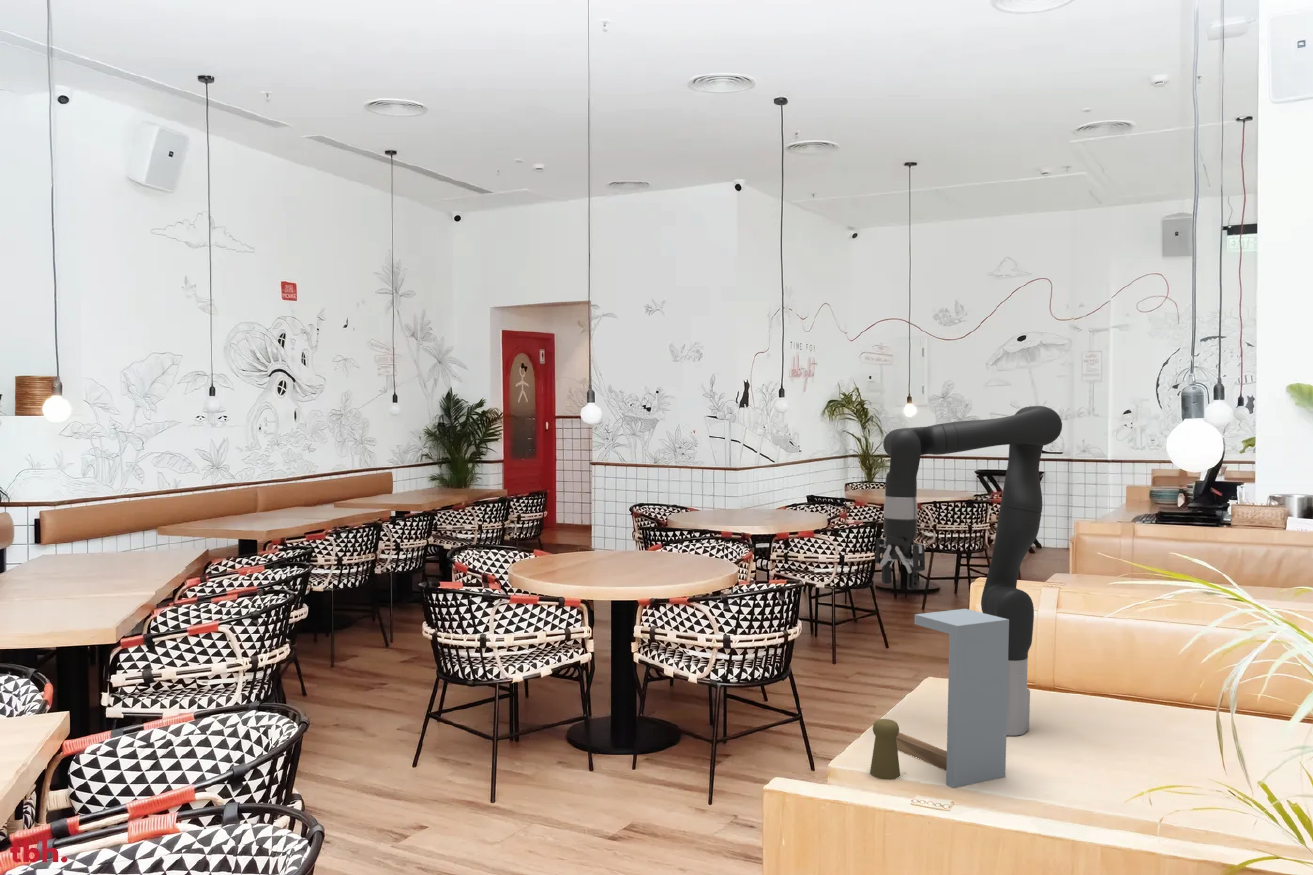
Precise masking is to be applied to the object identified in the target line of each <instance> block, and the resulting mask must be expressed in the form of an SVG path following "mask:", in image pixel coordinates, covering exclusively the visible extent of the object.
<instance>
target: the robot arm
mask: <svg viewBox="0 0 1313 875" xmlns="http://www.w3.org/2000/svg"><path fill="white" fill-rule="evenodd" d="M1062 421H1063V420H1062V418H1061V416H1060V415H1059V414H1058V413H1057V412H1056V411H1055V410H1053V409H1052V408H1050V407H1047V406H1044V405H1043V406H1042V405H1033V406H1032V405H1031V406H1025V407H1022V408H1020V409H1019V410H1017V411H1016V412H1015V414H1013V415H1008V416H1004V417H1003V416H1002V417H997V418H989V419H988V418H987V419H974V420H973V419H972V420H961V421H959V420H958V421H951V422H950V421H949V422H945V423H937V424H933V425H928V426H919V427H918V426H917V427H903V428H896V429H893V430H890V431H889V432H888V433H887V434H886V435H885V436H884V439H883V450H884V452H885V453H886V454H887V456H888V457H889V458H890V461H889V471H888V472H887V473H886V476H885V491H884V493H885V494H884V495H885V496H884V503H883V529H882V530H883V531H882V532H883V536H885V537H877V538H876V541H875V555H874V556H875V557H874V559H875V561H874V562H875V563H876V564H879V566H880V568H881V581H882V584H885V585H887V584H891V583H892V580H893V579H892V575H893V574H892V572H893V568H892V565H893V563H894V562H895V561H896V560H897V561H899V562H901V564H902V565H904V567H905V568H906V571H907V575H906V576H907V578H906V582H907V583H906V589H907V590H916V589H917V588H918V581H919V580H918V574H919V573H921V572H924V571H925V570H926V554H925V553H926V552H925V551H926V550H925V549H926V547H925V545H924V544H922V543H921V544H915V540H914V539H915V538H916V537H917V536H918V501H917V499H918V498H917V492H918V490H917V489H918V485H917V484H918V483H917V482H918V481H917V479H918V472H919V468H920V461H921V457H922V456H925V455H933V456H934V455H936V456H939V455H946V454H947V455H948V454H955V453H961V452H967V451H968V452H969V451H974V450H979V449H985V448H990V447H997V446H1005V445H1006V446H1007V445H1008V460H1007V466H1006V472H1005V477H1004V484H1003V489H1002V494H1001V500H1000V505H999V511H998V515H997V516H998V517H997V522H996V532H995V537H994V542H993V546H992V547H993V548H992V555H991V558H990V560H991V561H990V564H989V569H988V572H987V575H986V579H985V582H984V587H983V591H982V594H981V598H980V600H981V601H980V606H981V607H980V608H981V613H985V614H989V615H993V616H997V617H1001V618H1005V619H1009V644H1008V686H1007V728H1006V736H1009V737H1010V736H1011V737H1012V736H1022V735H1024V734H1026V733H1027V732H1028V731H1030V715H1031V714H1030V708H1031V706H1030V704H1031V703H1030V702H1031V690H1030V689H1029V688H1028V665H1029V664H1028V661H1029V660H1028V658H1029V650H1030V649H1031V646H1032V642H1033V633H1034V619H1035V618H1034V617H1035V607H1034V602H1033V600H1032V598H1031V596H1030V595H1029V594H1028V593H1027V592H1026V591H1024V590H1022V589H1019V588H1017V585H1018V576H1019V571H1020V568H1021V564H1022V562H1023V560H1024V558H1025V556H1026V555H1027V554H1028V552H1029V550H1030V549H1031V547H1032V546H1033V544H1034V542H1035V540H1036V538H1037V537H1038V534H1039V531H1040V524H1041V518H1042V512H1043V494H1042V493H1043V492H1042V487H1041V486H1042V485H1041V480H1040V479H1041V478H1040V462H1041V458H1042V452H1043V450H1044V449H1043V448H1044V446H1047V445H1049V444H1052V443H1053V442H1055V441H1056V440H1057V439H1058V437H1059V436H1060V435H1061V433H1062V429H1063V422H1062Z"/></svg>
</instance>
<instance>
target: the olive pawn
mask: <svg viewBox="0 0 1313 875" xmlns="http://www.w3.org/2000/svg"><path fill="white" fill-rule="evenodd" d="M899 727H900V726H899V725H898V723H897V721H895V720H892V719H889V718H888V719H887V718H880V719H876V720H875V721H874V723H873V724H872V732H873V735H874V736H875V738H874V743H873V750H872V757H871V763H870V768H869V774H870V775H871V776H872V777H873V778H876V779H880V780H897V779H898V778H897V777H899V776H900V777H901V769H900V762H899V761H900V760H899V752H898V751H899V750H897V742H896V737H897V736H898V733H899V732H900V728H899ZM900 777H899V778H900ZM896 778H897V779H896Z"/></svg>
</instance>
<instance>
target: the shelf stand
mask: <svg viewBox="0 0 1313 875" xmlns="http://www.w3.org/2000/svg"><path fill="white" fill-rule="evenodd" d="M914 625H917V626H920V627H923V628H926V629H930V630H934V631H938V632H941V633H945V634H949V636H948V637H949V643H948V644H949V645H948V681H947V682H948V683H947V684H948V686H947V689H948V690H947V728H946V729H947V730H946V731H947V733H946V736H947V737H946V751H947V770H945V771H946V778H945V781H946V782H945V784H946V785H945V786H949V787H950V788H953V789H957V788H959V787H960V788H961V787H965V786H969V785H974V784H978V783H984V782H986V781H992V780H996V779H1000V778H1006V769H1007V767H1006V763H1007V760H1006V758H1007V735H1006V728H1007V686H1008V644H1009V619H1005V618H1001V617H997V616H993V615H989V614H985V613H983V612H982V611H981V612H979V611H976V610H972V609H969V608H961V609H952V610H944V611H943V610H942V611H933V612H926V613H925V612H924V613H917V614H914Z"/></svg>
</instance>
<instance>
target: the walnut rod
mask: <svg viewBox="0 0 1313 875" xmlns="http://www.w3.org/2000/svg"><path fill="white" fill-rule="evenodd" d="M896 742H897V751H899V752H901V751H902V752H901V753H903V752H904V754H906V755H909V756H911V755H912V756H911V757H913V756H914V757H913V758H915V757H917V758H916V759H918V758H919V759H918V760H920V759H921V761H922V760H923V762H925V763H927V764H929V765H932V766H934V767H937V768H938V769H942V770H944V771H946V770H947V750H944V749H942V748H940V747H937V746H935V745H932V744H930V743H927V742H925V741H922V740H920V739H917V738H915V737H912V736H909V735H907V734H904V733H902V732H900V731H899V733H898V736H897V737H896Z"/></svg>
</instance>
